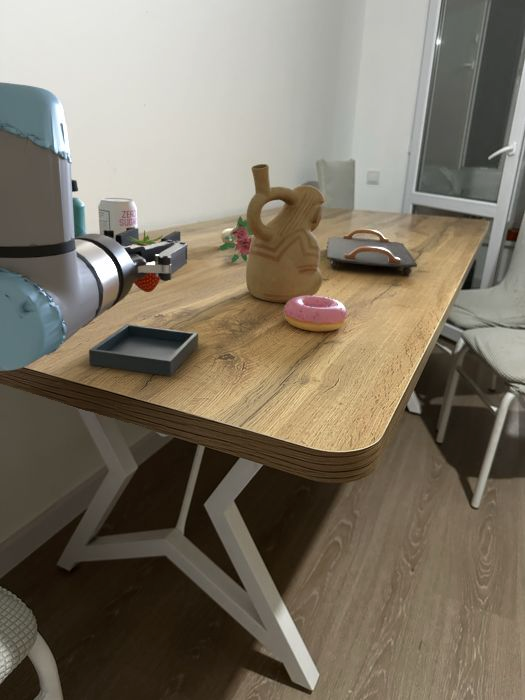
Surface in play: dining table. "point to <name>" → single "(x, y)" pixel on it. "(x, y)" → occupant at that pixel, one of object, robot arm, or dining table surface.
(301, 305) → the doughnut
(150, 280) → the fruit
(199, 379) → the dining table surface
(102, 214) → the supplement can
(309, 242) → the ceramic vessel
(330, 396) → the dining table surface
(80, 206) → the beverage bottle
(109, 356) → the dark gray square tray
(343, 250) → the serving tray
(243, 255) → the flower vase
